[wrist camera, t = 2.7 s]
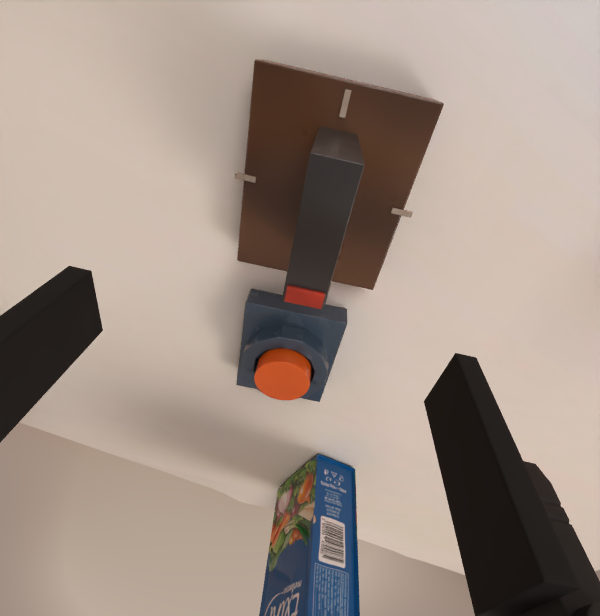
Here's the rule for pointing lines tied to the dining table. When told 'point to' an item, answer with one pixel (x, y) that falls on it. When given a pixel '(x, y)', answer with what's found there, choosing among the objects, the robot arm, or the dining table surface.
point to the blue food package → (314, 544)
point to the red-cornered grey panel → (323, 216)
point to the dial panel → (295, 156)
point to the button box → (290, 336)
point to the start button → (283, 374)
